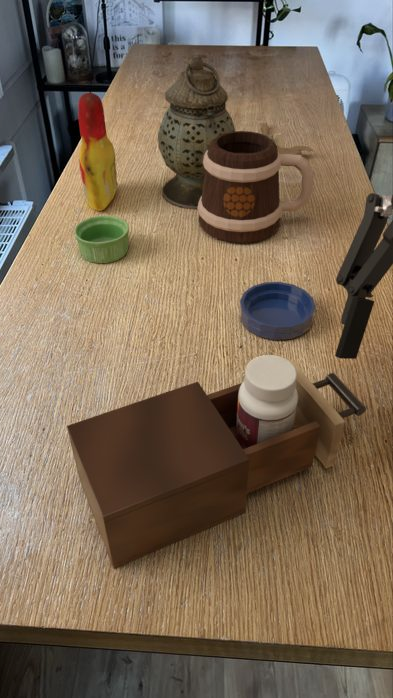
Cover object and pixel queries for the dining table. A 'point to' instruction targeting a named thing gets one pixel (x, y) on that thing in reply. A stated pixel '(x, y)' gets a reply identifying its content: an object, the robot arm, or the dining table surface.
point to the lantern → (191, 130)
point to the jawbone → (292, 150)
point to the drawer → (301, 443)
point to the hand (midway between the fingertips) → (376, 372)
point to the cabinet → (159, 471)
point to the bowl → (277, 310)
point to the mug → (247, 187)
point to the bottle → (96, 154)
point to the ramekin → (102, 238)
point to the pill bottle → (266, 400)
